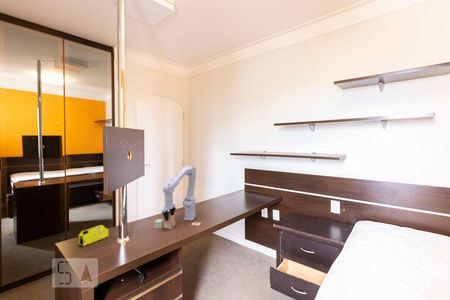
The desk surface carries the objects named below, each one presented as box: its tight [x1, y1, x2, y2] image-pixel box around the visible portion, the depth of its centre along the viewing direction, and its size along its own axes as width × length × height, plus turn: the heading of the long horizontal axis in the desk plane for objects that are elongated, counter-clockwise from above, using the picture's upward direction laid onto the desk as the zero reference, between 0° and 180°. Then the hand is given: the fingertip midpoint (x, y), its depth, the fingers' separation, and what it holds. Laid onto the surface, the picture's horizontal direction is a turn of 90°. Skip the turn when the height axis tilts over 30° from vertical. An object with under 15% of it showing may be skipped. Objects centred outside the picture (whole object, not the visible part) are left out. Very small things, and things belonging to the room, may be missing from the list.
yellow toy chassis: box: [78, 224, 109, 247], centre depth 143 cm, size 16×6×8 cm, turn 150°
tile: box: [191, 221, 201, 227], centre depth 170 cm, size 5×6×1 cm
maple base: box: [163, 221, 176, 230], centre depth 165 cm, size 6×6×4 cm
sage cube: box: [154, 218, 165, 229], centre depth 165 cm, size 5×5×5 cm
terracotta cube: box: [164, 214, 176, 224], centre depth 165 cm, size 5×5×5 cm
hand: (169, 218), depth 165 cm, fingers open, 7 cm apart
